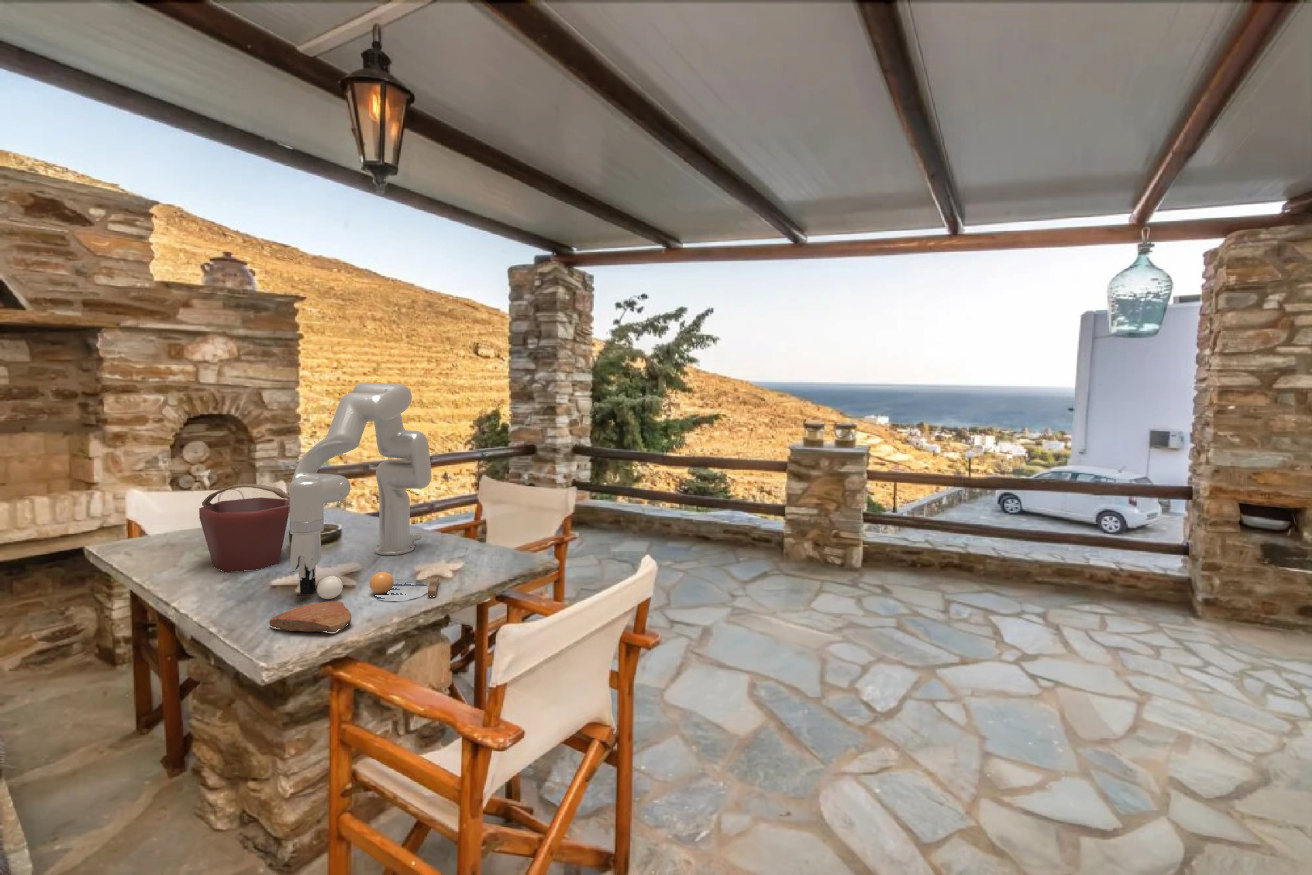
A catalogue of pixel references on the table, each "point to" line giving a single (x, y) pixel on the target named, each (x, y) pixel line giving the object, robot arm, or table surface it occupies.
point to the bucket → (245, 529)
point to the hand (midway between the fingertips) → (307, 592)
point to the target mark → (398, 589)
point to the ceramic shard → (314, 617)
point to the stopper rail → (433, 586)
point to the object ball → (381, 582)
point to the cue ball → (329, 587)
